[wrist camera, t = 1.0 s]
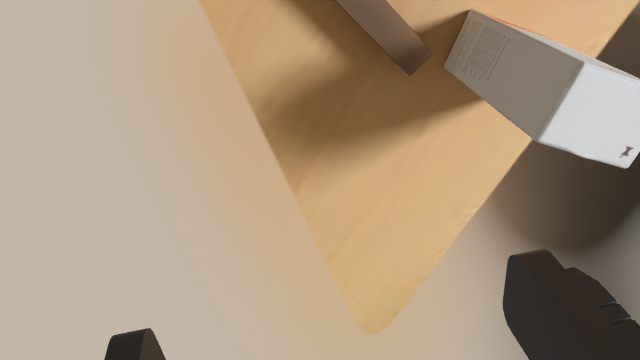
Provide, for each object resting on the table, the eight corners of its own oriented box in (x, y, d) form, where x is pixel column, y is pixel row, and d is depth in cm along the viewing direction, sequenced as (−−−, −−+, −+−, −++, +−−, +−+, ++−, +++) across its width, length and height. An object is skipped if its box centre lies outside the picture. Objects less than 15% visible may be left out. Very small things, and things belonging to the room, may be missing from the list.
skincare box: (542, 33, 33) (683, 97, 23) (510, 90, 35) (628, 173, 25) (468, 4, 31) (585, 60, 21) (439, 67, 33) (534, 145, 23)
